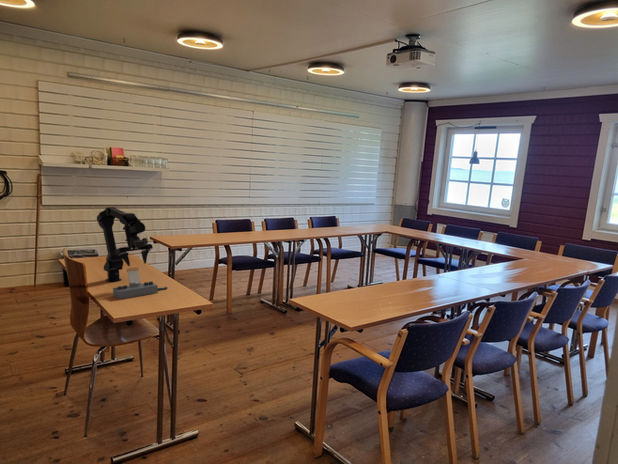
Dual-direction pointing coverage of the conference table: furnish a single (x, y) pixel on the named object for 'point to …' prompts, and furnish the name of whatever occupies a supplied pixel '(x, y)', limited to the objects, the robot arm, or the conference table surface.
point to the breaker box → (136, 290)
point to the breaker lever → (133, 276)
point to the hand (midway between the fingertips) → (137, 264)
